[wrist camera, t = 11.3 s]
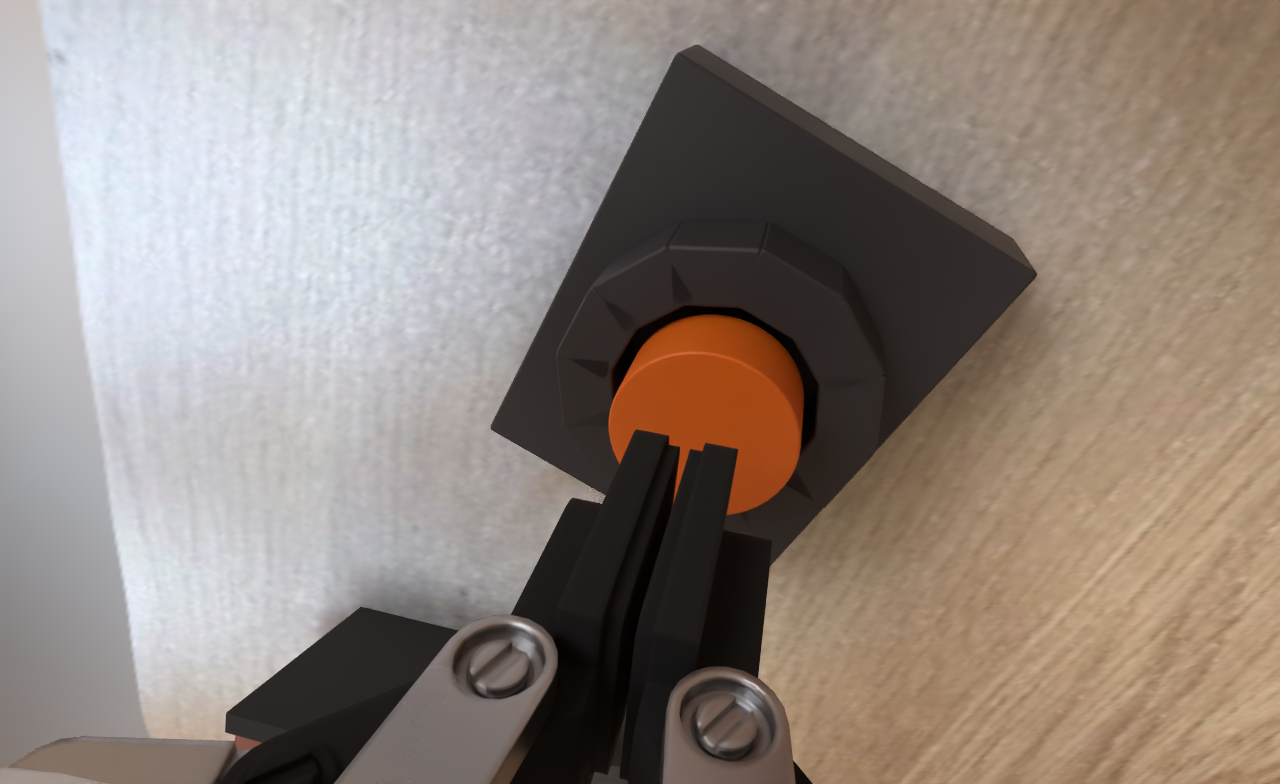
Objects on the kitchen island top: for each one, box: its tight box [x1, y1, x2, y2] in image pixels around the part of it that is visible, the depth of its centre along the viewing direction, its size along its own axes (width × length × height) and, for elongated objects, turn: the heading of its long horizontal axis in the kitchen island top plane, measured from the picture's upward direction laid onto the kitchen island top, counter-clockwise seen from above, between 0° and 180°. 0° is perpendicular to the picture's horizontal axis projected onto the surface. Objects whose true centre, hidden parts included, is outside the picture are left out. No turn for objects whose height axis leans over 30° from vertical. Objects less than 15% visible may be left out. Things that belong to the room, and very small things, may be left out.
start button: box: [609, 314, 804, 515], centre depth 14 cm, size 4×4×2 cm
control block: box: [491, 45, 1037, 566], centre depth 16 cm, size 10×8×4 cm
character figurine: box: [225, 607, 628, 784], centre depth 23 cm, size 8×7×15 cm
